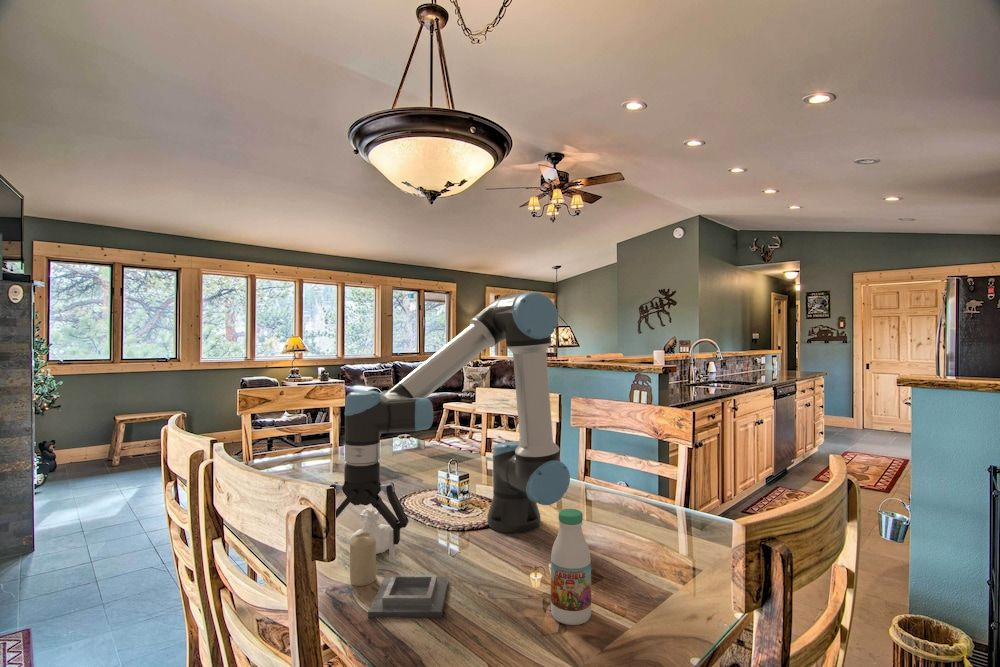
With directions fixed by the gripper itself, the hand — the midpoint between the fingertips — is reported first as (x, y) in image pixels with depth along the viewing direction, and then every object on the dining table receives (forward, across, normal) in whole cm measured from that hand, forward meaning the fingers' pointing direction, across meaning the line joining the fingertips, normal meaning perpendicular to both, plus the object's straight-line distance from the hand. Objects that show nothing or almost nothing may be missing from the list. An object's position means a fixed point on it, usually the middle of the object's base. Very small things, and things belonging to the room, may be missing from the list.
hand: (361, 558), depth 114 cm
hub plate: (+5, +12, -8) cm, 15 cm away
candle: (+5, 0, 0) cm, 5 cm away
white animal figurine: (+5, -2, +15) cm, 16 cm away
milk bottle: (+5, +44, -14) cm, 47 cm away
